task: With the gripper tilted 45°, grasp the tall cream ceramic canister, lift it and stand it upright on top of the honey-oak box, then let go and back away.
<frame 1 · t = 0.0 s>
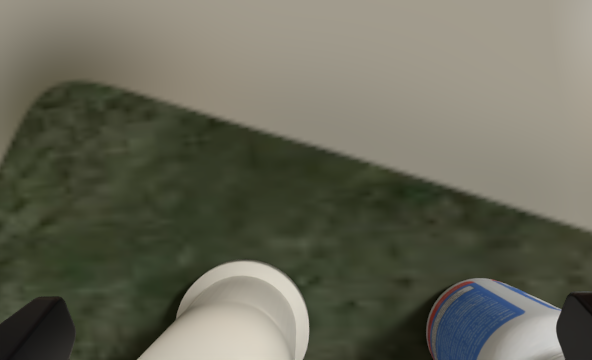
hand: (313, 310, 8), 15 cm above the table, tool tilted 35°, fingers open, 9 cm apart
pill bottle: (477, 329, 23), on the table
cream canister: (245, 323, 23), on the table
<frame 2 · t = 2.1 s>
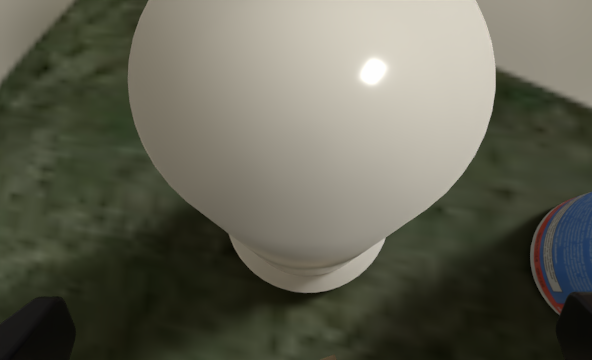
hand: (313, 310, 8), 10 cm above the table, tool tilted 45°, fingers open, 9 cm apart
cream canister: (307, 213, 19), on the table
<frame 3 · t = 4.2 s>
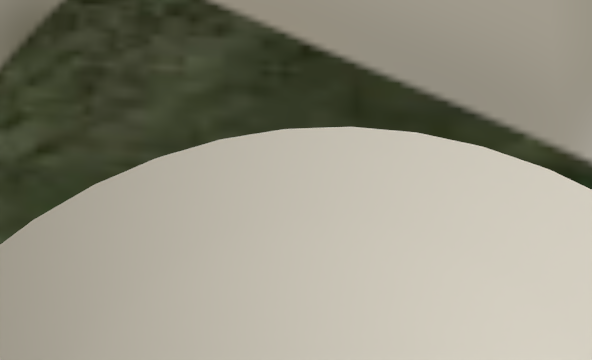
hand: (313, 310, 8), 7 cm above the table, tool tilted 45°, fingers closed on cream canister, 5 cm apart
cream canister: (310, 347, 14), on the table, touching gripper
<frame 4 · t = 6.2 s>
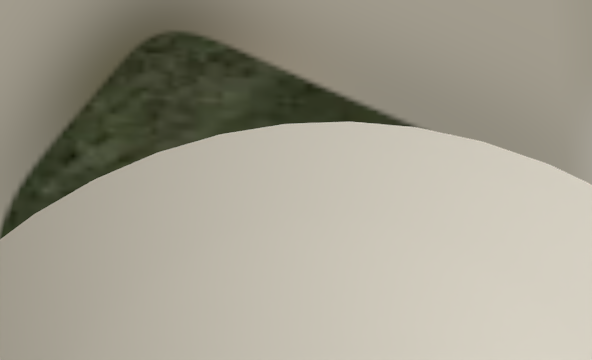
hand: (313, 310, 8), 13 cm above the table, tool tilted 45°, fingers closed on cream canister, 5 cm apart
cream canister: (310, 346, 14), point 7 cm above the table, touching gripper
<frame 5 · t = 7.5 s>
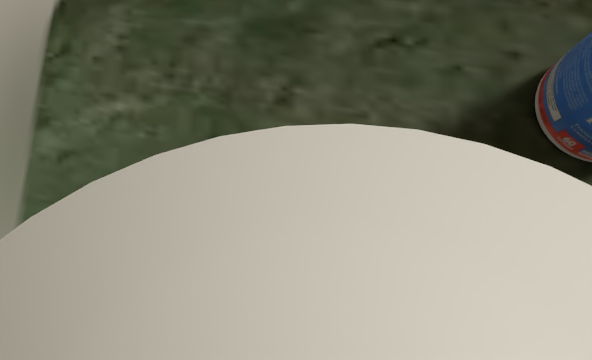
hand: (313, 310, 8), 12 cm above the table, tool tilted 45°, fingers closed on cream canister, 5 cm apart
pill bottle: (586, 112, 22), on the table
cream canister: (310, 347, 14), point 6 cm above the table, touching gripper
when the fingers open (11 cm above the table, at t = 8.5 s): cream canister drops 1 cm, resting on oak box.
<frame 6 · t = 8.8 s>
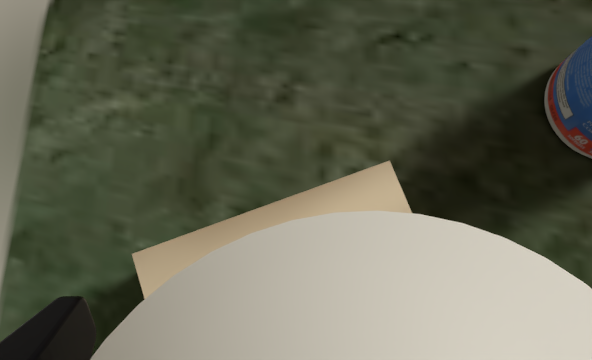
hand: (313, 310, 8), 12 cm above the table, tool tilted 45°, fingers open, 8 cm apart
cream canister: (316, 343, 16), point 4 cm above the table, touching oak box
oak box: (309, 331, 20), on the table, touching cream canister
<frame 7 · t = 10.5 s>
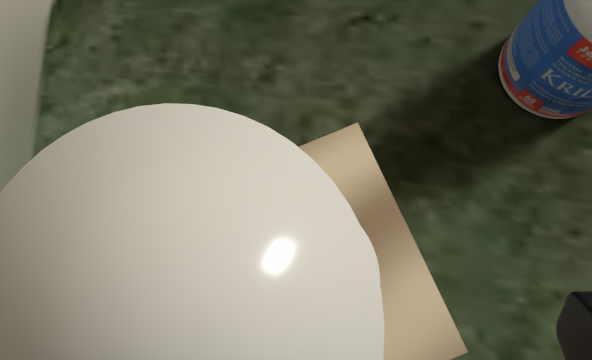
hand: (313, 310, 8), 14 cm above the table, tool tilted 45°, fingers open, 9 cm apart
pill bottle: (547, 74, 24), on the table
cream canister: (295, 278, 18), point 4 cm above the table, tilted 6°
oak box: (297, 281, 22), on the table
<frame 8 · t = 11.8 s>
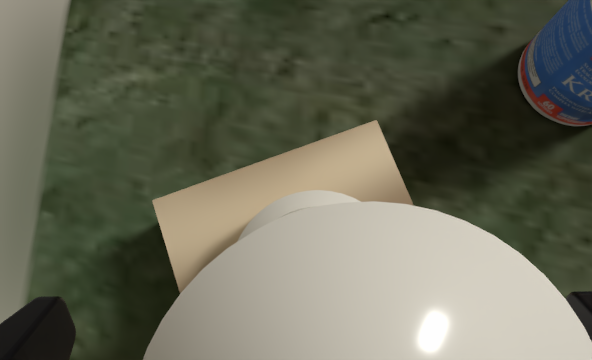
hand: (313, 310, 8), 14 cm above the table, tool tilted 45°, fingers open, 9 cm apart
pill bottle: (566, 81, 24), on the table
cream canister: (316, 274, 18), point 4 cm above the table, tilted 10°, touching oak box
oak box: (307, 276, 22), on the table, touching cream canister
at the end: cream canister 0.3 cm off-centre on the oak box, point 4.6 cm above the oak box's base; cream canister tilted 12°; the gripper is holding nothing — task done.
